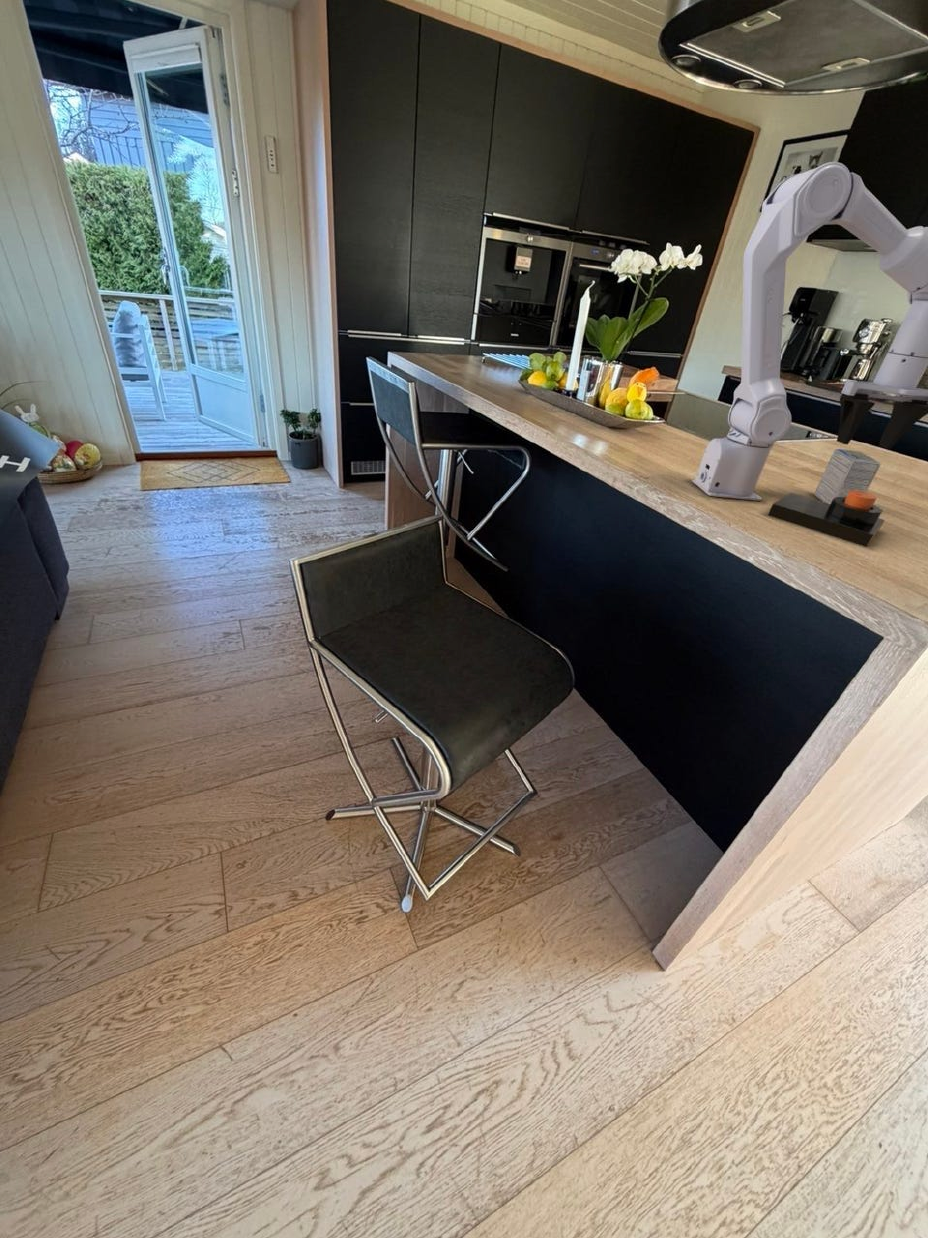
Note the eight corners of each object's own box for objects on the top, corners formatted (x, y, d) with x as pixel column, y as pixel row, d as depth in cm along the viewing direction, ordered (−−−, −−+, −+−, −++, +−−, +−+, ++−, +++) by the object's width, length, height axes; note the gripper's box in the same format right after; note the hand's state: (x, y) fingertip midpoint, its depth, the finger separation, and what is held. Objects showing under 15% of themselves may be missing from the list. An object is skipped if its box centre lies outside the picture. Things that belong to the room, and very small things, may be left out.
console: (866, 547, 76) (880, 521, 74) (767, 515, 84) (778, 491, 81) (878, 531, 82) (892, 507, 80) (785, 503, 90) (795, 480, 88)
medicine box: (855, 513, 89) (883, 463, 85) (828, 509, 90) (854, 459, 85) (837, 498, 96) (861, 451, 91) (812, 494, 96) (835, 447, 92)
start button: (867, 513, 78) (874, 500, 77) (840, 505, 80) (847, 492, 79) (871, 508, 80) (878, 495, 79) (845, 501, 82) (852, 488, 81)
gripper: (883, 353, 76) (837, 447, 83) (974, 363, 77) (921, 455, 84) (852, 347, 82) (812, 435, 89) (937, 357, 83) (890, 444, 90)
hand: (863, 444), depth 87 cm, fingers open, 7 cm apart
